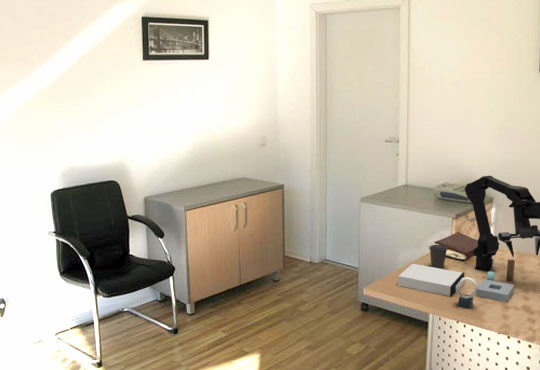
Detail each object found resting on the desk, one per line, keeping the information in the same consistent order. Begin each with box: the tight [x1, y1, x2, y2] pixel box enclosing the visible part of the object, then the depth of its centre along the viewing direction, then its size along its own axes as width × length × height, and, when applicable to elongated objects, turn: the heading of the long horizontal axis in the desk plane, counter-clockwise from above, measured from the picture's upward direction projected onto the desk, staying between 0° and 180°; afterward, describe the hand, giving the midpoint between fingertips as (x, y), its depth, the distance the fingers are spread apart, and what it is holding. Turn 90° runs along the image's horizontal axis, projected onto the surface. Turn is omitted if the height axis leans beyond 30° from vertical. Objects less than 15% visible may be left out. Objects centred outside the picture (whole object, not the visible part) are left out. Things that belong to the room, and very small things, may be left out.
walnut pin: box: [505, 259, 516, 283], centre depth 258 cm, size 3×3×9 cm
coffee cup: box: [428, 244, 448, 269], centre depth 274 cm, size 8×8×10 cm
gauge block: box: [475, 278, 515, 303], centre depth 245 cm, size 12×12×3 cm
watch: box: [455, 276, 479, 310], centre depth 234 cm, size 6×8×11 cm
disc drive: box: [397, 263, 466, 298], centre depth 256 cm, size 18×22×5 cm
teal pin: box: [486, 270, 496, 281], centre depth 255 cm, size 3×3×5 cm
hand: (524, 256), depth 251 cm, fingers open, 9 cm apart
